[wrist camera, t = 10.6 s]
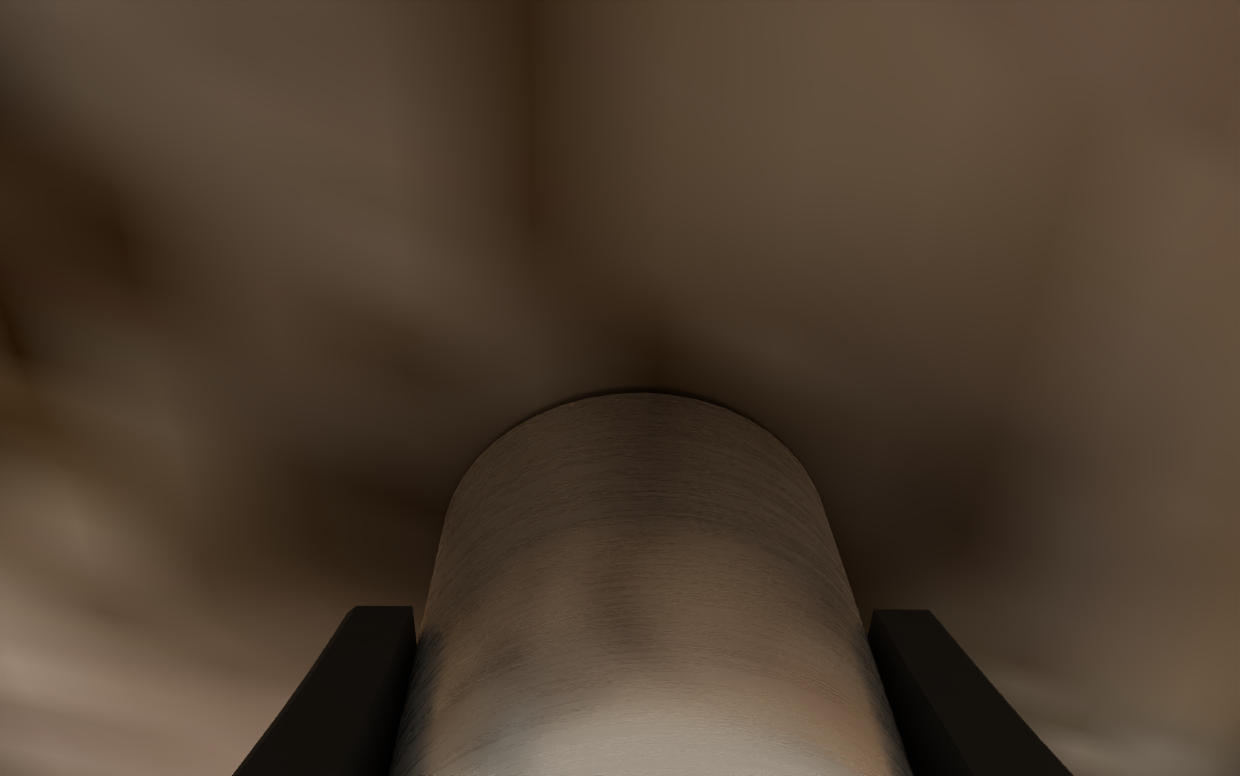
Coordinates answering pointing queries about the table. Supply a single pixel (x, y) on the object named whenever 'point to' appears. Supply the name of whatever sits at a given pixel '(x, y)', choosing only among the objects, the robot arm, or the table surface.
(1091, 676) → the table surface
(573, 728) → the metal cylinder
